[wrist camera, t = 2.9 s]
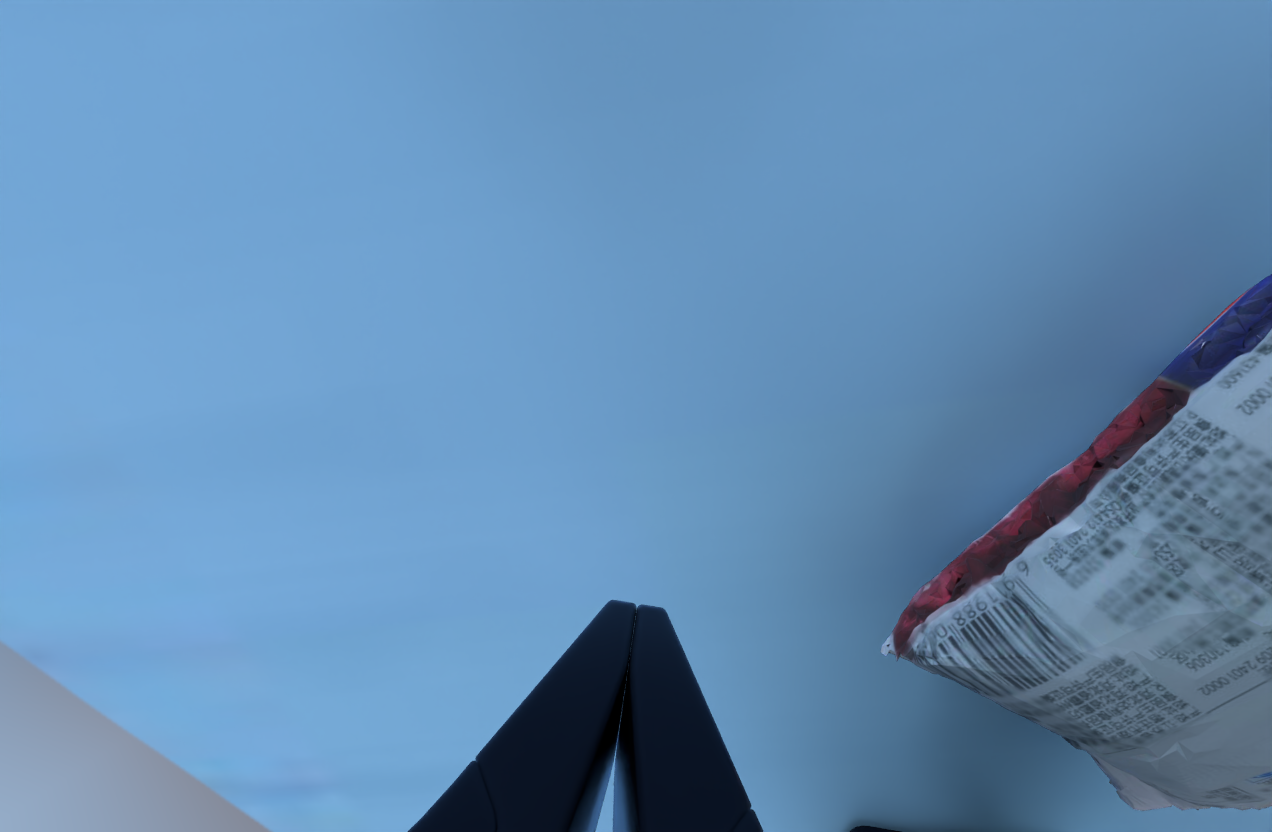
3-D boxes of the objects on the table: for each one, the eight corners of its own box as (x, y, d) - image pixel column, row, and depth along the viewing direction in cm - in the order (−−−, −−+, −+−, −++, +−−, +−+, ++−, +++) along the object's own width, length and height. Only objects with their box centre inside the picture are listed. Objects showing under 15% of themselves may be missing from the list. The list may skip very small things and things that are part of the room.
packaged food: (1572, 423, 12) (2063, 580, 8) (1091, 742, 17) (1227, 955, 13) (1263, 177, 11) (1625, 197, 7) (840, 589, 16) (891, 762, 11)
